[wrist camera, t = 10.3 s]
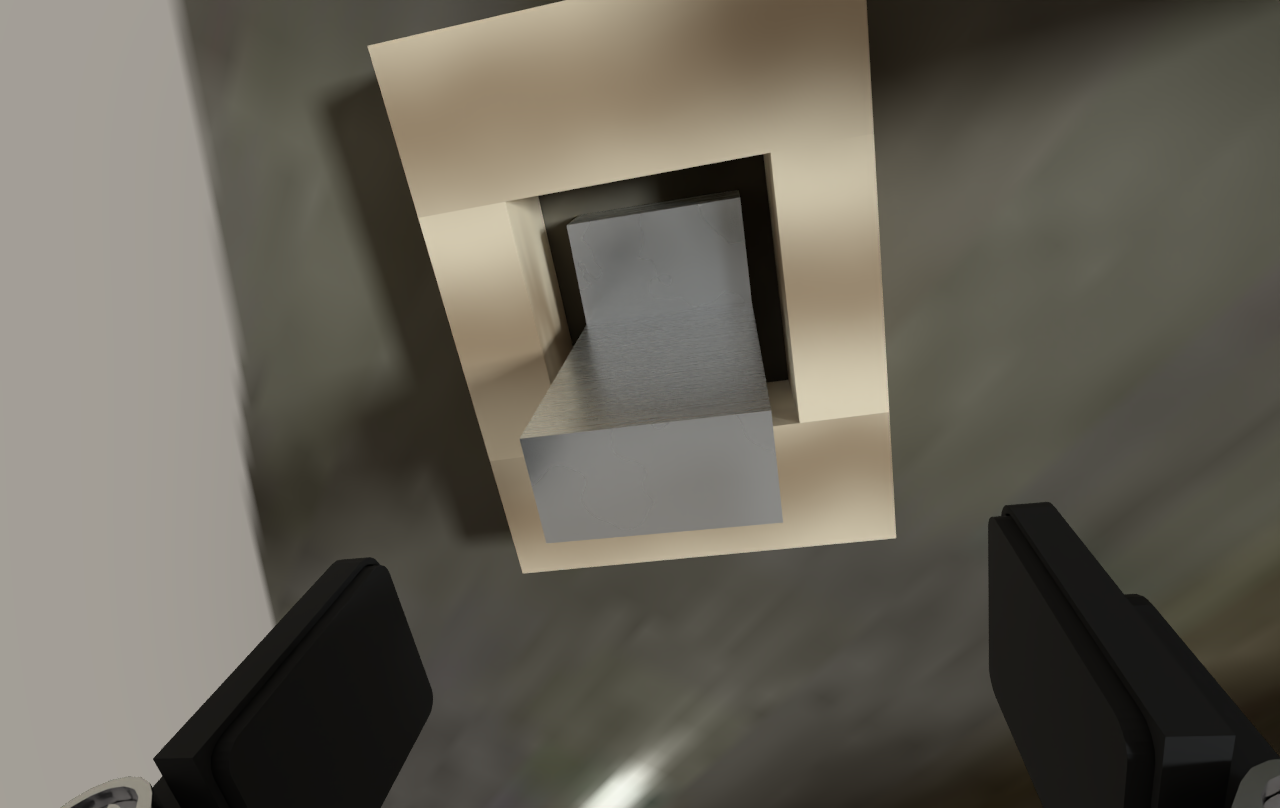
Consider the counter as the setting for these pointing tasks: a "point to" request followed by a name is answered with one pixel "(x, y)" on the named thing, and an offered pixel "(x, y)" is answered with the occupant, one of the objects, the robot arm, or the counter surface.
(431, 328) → the counter surface
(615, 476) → the bracket
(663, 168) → the block
